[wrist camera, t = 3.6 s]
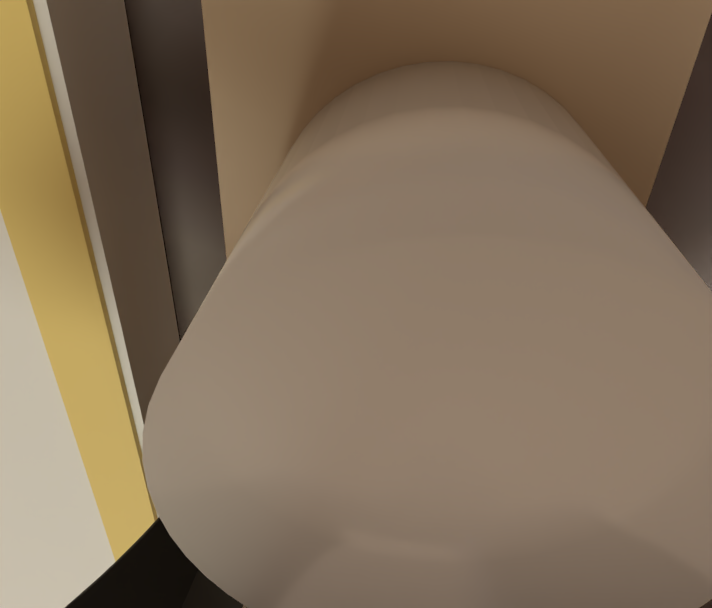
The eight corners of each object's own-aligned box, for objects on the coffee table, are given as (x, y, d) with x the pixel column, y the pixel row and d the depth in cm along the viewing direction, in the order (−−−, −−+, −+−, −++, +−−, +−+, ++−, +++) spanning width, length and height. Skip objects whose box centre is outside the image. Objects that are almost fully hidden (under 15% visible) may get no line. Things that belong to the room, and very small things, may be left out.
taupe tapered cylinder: (565, 372, 8) (669, 690, 5) (282, 352, 8) (188, 640, 5) (651, 68, 6) (959, 262, 2) (260, 54, 6) (70, 212, 3)
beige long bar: (441, 669, 20) (445, 797, 17) (297, 652, 20) (277, 776, 17) (689, -339, 7) (902, -548, 4) (261, -347, 7) (147, -546, 4)
